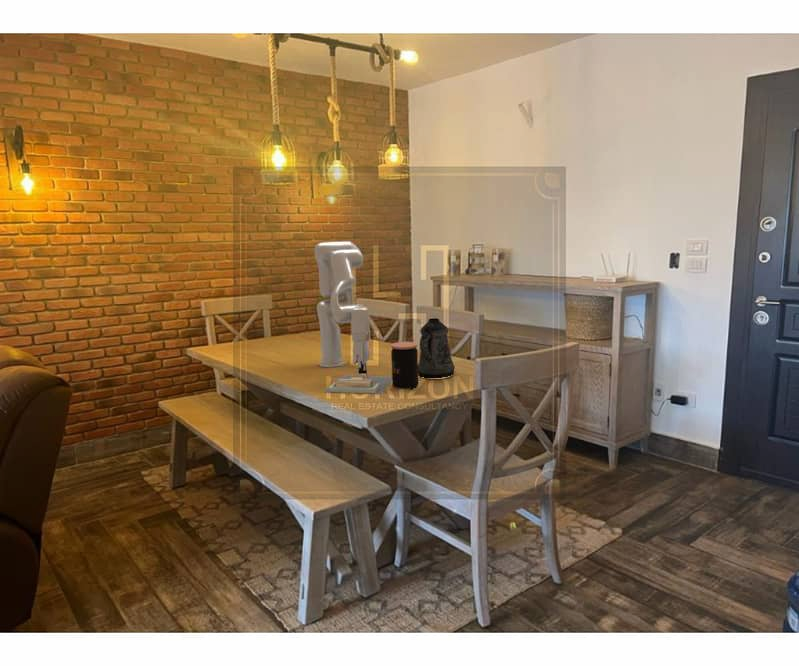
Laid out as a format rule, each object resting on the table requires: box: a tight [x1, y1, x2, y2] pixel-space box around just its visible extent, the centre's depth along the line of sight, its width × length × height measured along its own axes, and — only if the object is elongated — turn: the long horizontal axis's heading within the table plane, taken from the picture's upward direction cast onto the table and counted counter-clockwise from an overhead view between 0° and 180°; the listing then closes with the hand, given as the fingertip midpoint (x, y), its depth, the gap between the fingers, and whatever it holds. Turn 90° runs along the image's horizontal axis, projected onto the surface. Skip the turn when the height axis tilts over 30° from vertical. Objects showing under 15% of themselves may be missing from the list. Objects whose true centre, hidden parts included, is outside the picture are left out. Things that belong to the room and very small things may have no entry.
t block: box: [335, 372, 373, 388], centre depth 237 cm, size 14×14×4 cm
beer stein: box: [418, 317, 455, 379], centre depth 253 cm, size 16×19×25 cm
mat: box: [322, 375, 392, 395], centre depth 241 cm, size 26×24×3 cm
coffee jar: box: [390, 341, 419, 391], centre depth 237 cm, size 11×11×18 cm
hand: (362, 378), depth 246 cm, fingers closed
